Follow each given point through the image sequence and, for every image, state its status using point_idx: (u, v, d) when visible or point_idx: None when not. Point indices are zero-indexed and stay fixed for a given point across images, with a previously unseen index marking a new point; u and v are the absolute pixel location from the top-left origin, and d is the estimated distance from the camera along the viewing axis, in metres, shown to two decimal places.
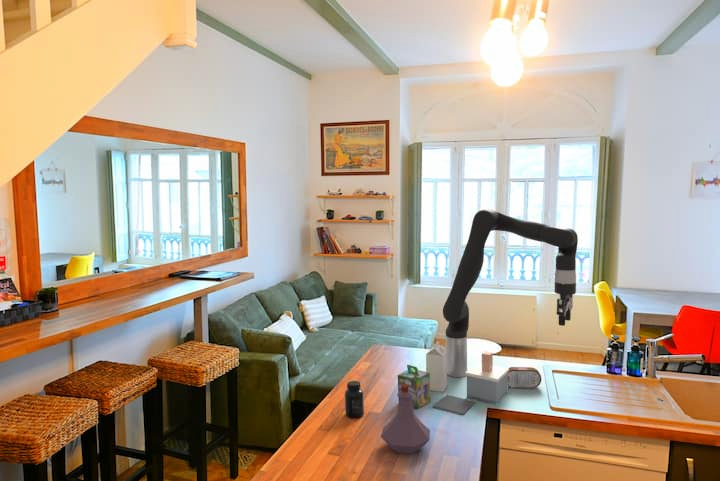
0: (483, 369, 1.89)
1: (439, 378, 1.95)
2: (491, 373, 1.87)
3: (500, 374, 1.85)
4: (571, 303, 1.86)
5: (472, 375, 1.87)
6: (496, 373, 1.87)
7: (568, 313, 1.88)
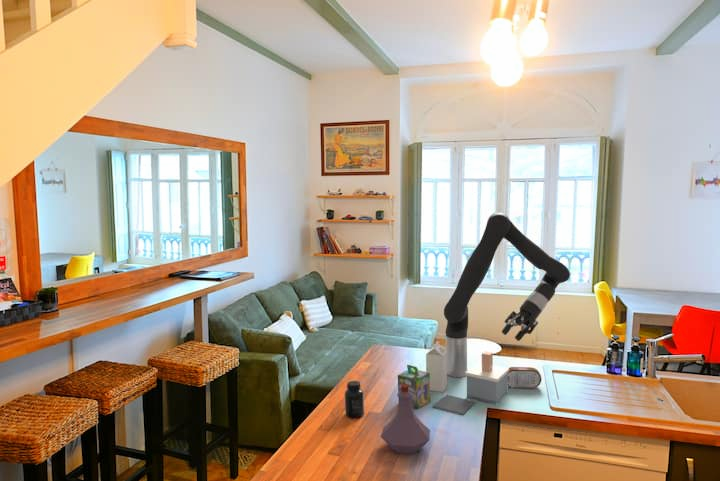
0: (483, 369, 1.89)
1: (439, 378, 1.95)
2: (491, 373, 1.87)
3: (500, 374, 1.85)
4: None
5: (472, 375, 1.87)
6: (496, 373, 1.87)
7: (508, 329, 1.96)
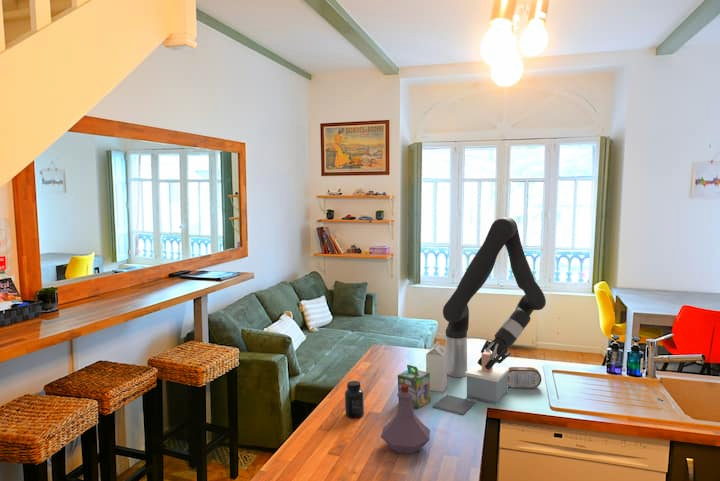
0: (483, 369, 1.89)
1: (439, 378, 1.95)
2: (491, 373, 1.87)
3: (500, 374, 1.85)
4: None
5: (472, 375, 1.87)
6: (496, 373, 1.87)
7: None
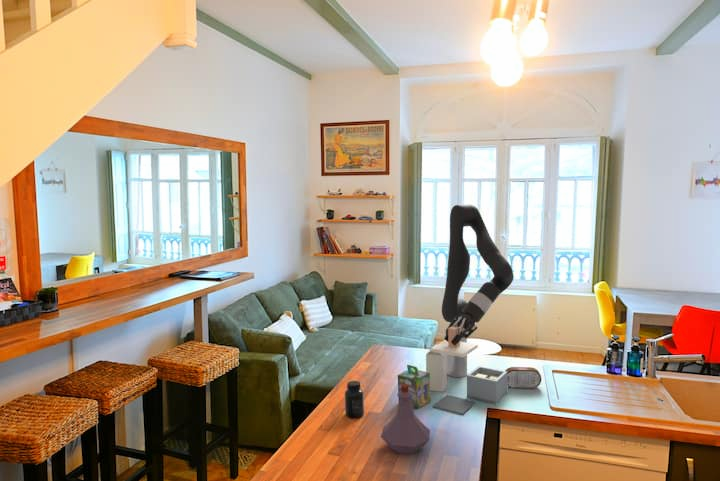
0: (450, 345, 1.80)
1: (439, 378, 1.95)
2: (458, 349, 1.77)
3: (467, 349, 1.76)
4: None
5: (438, 351, 1.78)
6: (463, 348, 1.77)
7: None
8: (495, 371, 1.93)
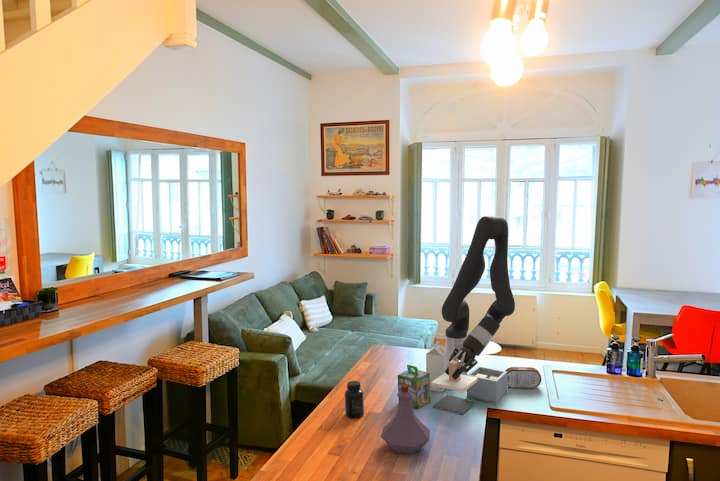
0: (450, 379, 1.81)
1: None
2: (458, 383, 1.78)
3: (467, 384, 1.77)
4: None
5: (438, 385, 1.79)
6: (463, 383, 1.78)
7: None
8: (495, 371, 1.93)
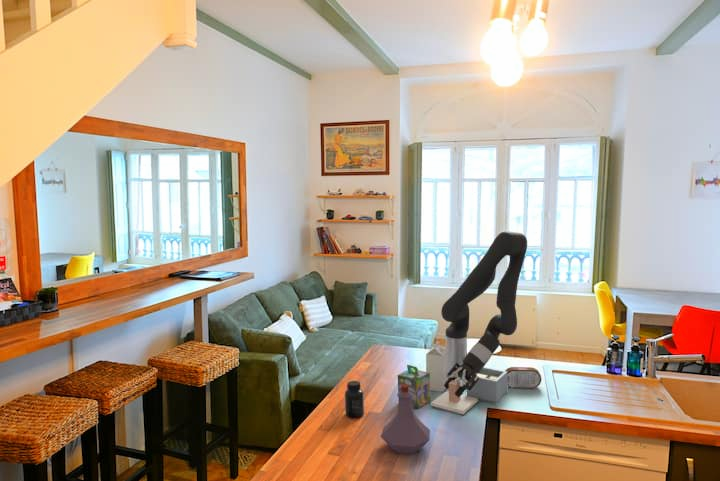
0: (450, 399, 1.82)
1: (439, 378, 1.95)
2: (458, 404, 1.79)
3: (467, 405, 1.78)
4: None
5: (438, 406, 1.80)
6: (463, 404, 1.79)
7: None
8: (495, 371, 1.93)
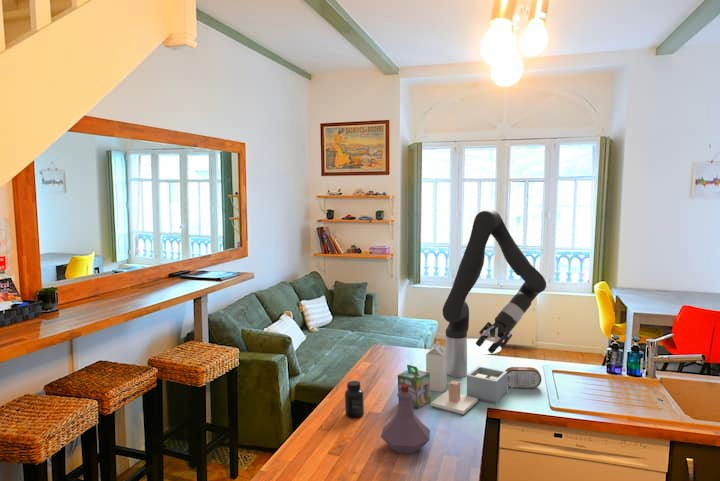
0: (450, 399, 1.82)
1: (439, 378, 1.95)
2: (458, 404, 1.79)
3: (467, 405, 1.78)
4: None
5: (438, 406, 1.80)
6: (463, 404, 1.79)
7: (483, 340, 1.91)
8: (495, 371, 1.93)
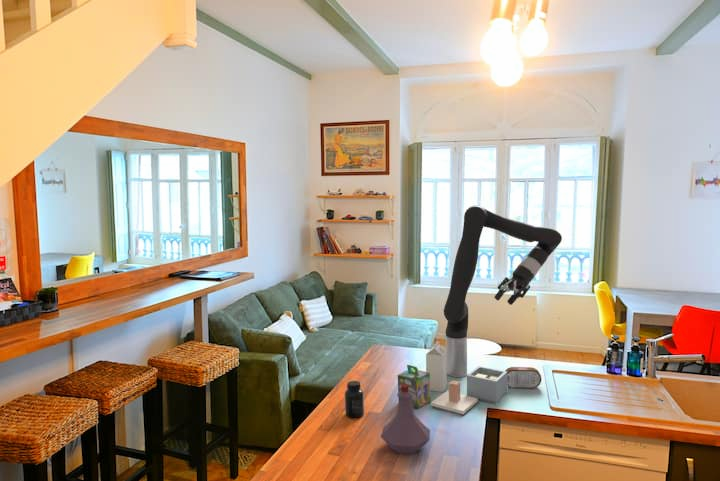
0: (450, 399, 1.82)
1: (439, 378, 1.95)
2: (458, 404, 1.79)
3: (467, 405, 1.78)
4: None
5: (438, 406, 1.80)
6: (463, 404, 1.79)
7: (501, 294, 1.96)
8: (495, 371, 1.93)
